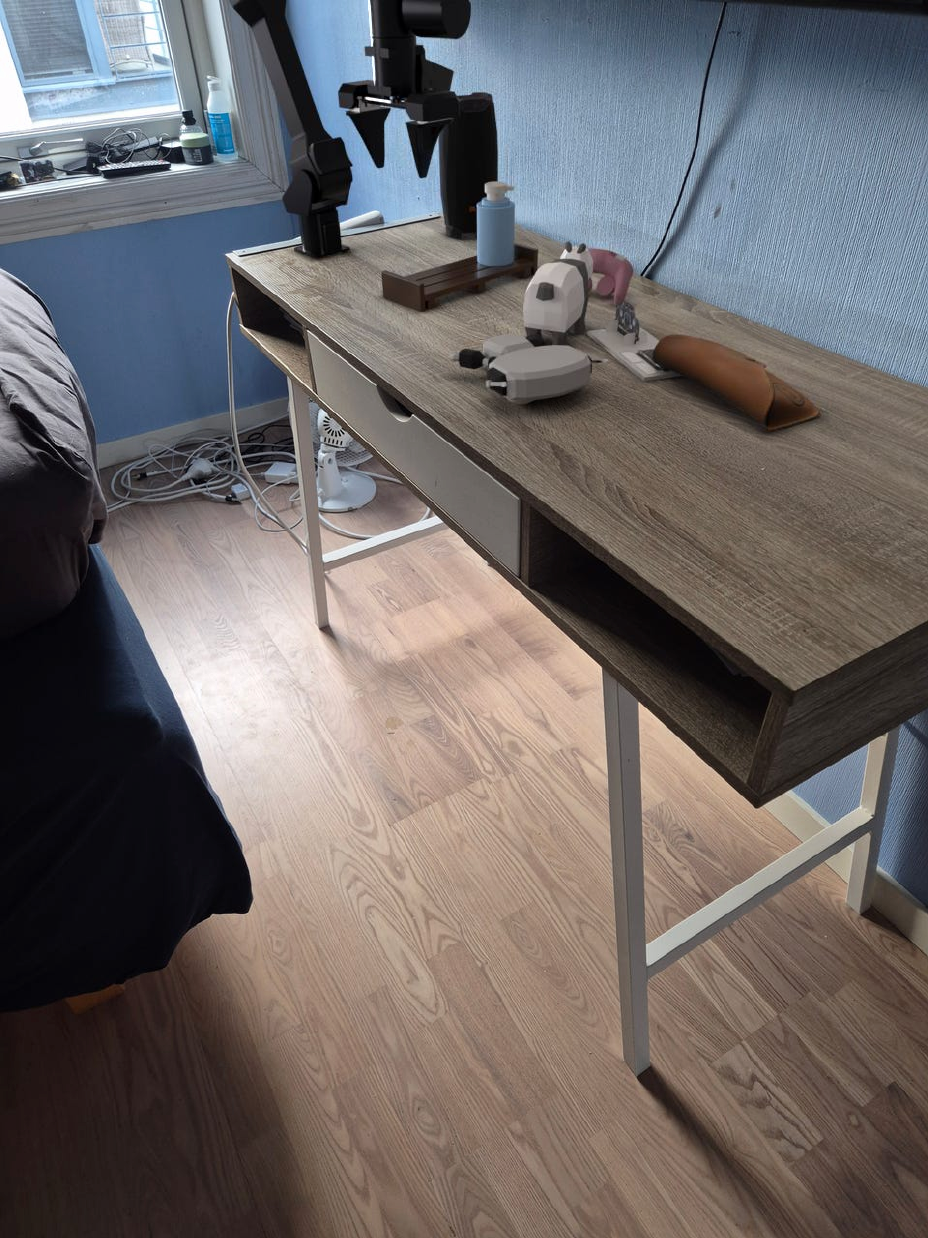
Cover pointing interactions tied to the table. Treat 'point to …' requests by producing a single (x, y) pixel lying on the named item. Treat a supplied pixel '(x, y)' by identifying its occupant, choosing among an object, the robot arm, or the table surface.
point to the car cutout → (631, 344)
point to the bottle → (495, 226)
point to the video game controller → (611, 274)
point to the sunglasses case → (735, 380)
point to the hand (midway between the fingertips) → (401, 172)
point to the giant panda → (559, 295)
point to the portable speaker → (467, 162)
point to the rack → (454, 278)
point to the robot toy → (528, 367)
